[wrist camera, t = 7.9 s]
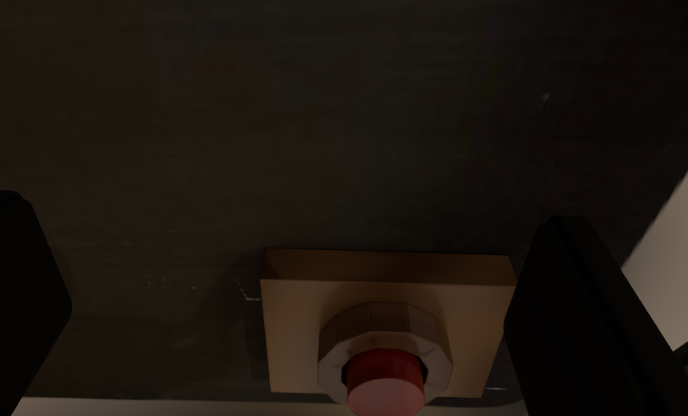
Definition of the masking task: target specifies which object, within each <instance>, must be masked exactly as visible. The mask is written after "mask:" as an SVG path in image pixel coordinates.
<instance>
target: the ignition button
mask: <svg viewBox="0 0 688 416" xmlns="http://www.w3.org/2000/svg"><path fill="white" fill-rule="evenodd" d="M424 402H425V394H424V387H423V379H422V372H421V365H420V362H419V360H418V359H417V358H416V356H414V355H413V354H411V353H409V352H406V351H404V350H401V349H387V348H374V349H371V350H368V351H365V352H362V353H359V354H356V355H355V356H354V357H353V358H352V359H351V360H350V362H349V364H348V367H347V403H348V406H349V407H350V409H351V410H352V412H353V413H355V414H356V415H358V416H413V415H414V414H416V413H417V412H418V411H419V410H420V409H421V408H422V407H423V405H424Z"/></svg>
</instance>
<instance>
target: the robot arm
mask: <svg viewBox="0 0 688 416" xmlns="http://www.w3.org/2000/svg"><path fill="white" fill-rule="evenodd" d="M71 312H72V302H71V298H70V296H69V294H68V291H67V289H66V286H65V284H64V282H63V279H62V277H61V274H60V272H59V270H58V267H57V265H56V262H55V260H54V258H53V255H52V253H51V250H50V248H49V245H48V243H47V241H46V238H45V236H44V233H43V231H42V229H41V226H40V224H39V221H38V219H37V217H36V214H35V212H34V209H33V207H32V205H31V203H30V202H29V201H27V200H25V199H23V198H22V196H21V195H20V194H19V193H17V192H15V191H6V190H0V416H11V415H12V413H13V411H14V410H15V408H16V407H17V405H18V403H19V402H20V400H21V398H22V397H23V395H24V393H25V392H26V390H27V388H28V387H29V385H30V383H31V382H32V380H33V378H34V377H35V375H36V373H37V372H38V370H39V368H40V367H41V365H42V363H43V362H44V360H45V358H46V357H47V355H48V353H49V352H50V350H51V348H52V347H53V345H54V344H55V342H56V340H57V339H58V337H59V335H60V334H61V332H62V330H63V329H64V327H65V325H66V324H67V322H68V320H69V318H70V316H71ZM503 330H504V337H505V340H506V344H507V347H508V350H509V353H510V357H511V360H512V363H513V366H514V369H515V373H516V376H517V379H518V382H519V385H520V389H521V392H522V395H523V398H524V402H525V405H526V408H527V411H528V414H529V416H688V374H687V373H686V371H685V370H684V368H683V367H682V365H681V364H680V362H679V360H678V359H677V357H676V356H675V354H674V353H673V351H672V349H671V348H670V346H669V345H668V343H667V342H666V340H665V338H664V337H663V336H662V334H661V332H660V331H659V329H658V327H657V326H656V324H655V323H654V321H653V320H652V318H651V316H650V315H649V313H648V312H647V310H646V309H645V307H644V305H643V304H642V302H641V301H640V300H639V298H638V296H637V295H636V293H635V291H634V290H633V288H632V287H631V285H630V283H629V282H628V280H627V279H626V277H625V276H624V274H623V273H622V271H621V269H620V268H619V266H618V265H617V263H616V261H615V260H614V258H613V257H612V255H611V254H610V252H609V250H608V249H607V247H606V246H605V244H604V243H603V241H602V239H601V238H600V236H599V235H598V233H597V232H596V230H595V228H594V227H593V225H592V224H591V222H590V221H589V220H588V219H587V218H586V217H580V216H558V215H554V216H551V217H550V218H549V219H548V221H547V223H540V224H539V226H538V228H537V230H536V233H535V235H534V238H533V241H532V244H531V246H530V249H529V252H528V255H527V257H526V260H525V263H524V266H523V269H522V271H521V274H520V277H519V280H518V282H517V285H516V288H515V291H514V293H513V296H512V299H511V302H510V305H509V307H508V310H507V313H506V316H505V319H504V325H503Z"/></svg>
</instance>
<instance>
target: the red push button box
mask: <svg viewBox="0 0 688 416" xmlns="http://www.w3.org/2000/svg"><path fill="white" fill-rule="evenodd" d="M516 285H517V279H516V276H515V274H514V271H513V269H512V266H511V263H510V261H509V258H508V256H507V255H478V254H445V253H412V252H380V251H347V250H314V249H282V248H266V251H265V255H264V260H263V265H262V270H261V275H260V289H261V299H262V309H263V319H264V329H265V339H266V349H267V359H268V369H269V379H270V389H271V392H291V393H327V394H328V395H329V396H330V398H331V399H332V400H333V401H335V402H337V403H340V404H343V405H346V406H348V403H347V367H348V364H349V362H350V360H351V359H352V358H353V357H354V356H355V355H356V354H359V353H362V352H365V351H368V350H371V349H374V348H387V349H401V350H404V351H406V352H409V353H411V354H413V355H414V356H416V358H417V359H418V360H419V362H420V365H421V372H422V379H423V387H424V394H425V402H424V405H426V404H427V403H429V402H430V401H431V400H432V399H434V398H435V397H436V396H437V397H474V398H480V397H481V396H482V393H483V390H484V387H485V384H486V381H487V379H488V376H489V373H490V370H491V367H492V364H493V361H494V359H495V356H496V353H497V350H498V347H499V344H500V341H501V339H502V336H503V333H504V330H503V325H504V319H505V316H506V313H507V310H508V307H509V305H510V302H511V299H512V296H513V293H514V291H515V288H516ZM348 407H349V406H348Z"/></svg>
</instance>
